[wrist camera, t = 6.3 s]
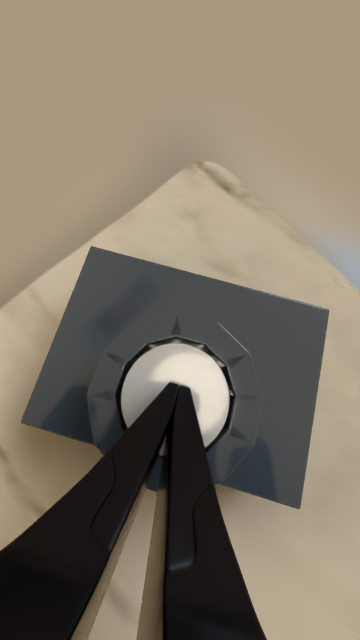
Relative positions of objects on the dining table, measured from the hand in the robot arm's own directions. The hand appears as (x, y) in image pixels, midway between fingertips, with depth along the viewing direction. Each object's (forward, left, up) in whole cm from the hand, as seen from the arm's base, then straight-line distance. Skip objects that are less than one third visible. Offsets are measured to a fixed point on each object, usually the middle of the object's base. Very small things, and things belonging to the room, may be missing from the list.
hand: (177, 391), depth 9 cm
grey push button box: (+1, +1, -8) cm, 8 cm away
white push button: (0, 0, -2) cm, 2 cm away
